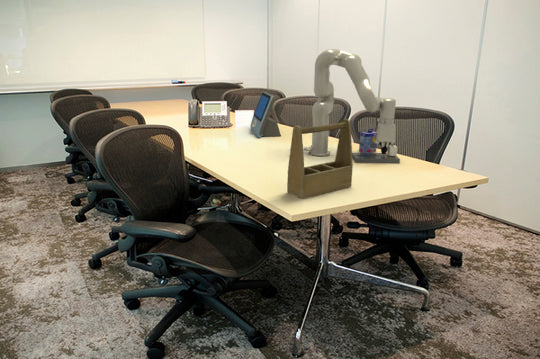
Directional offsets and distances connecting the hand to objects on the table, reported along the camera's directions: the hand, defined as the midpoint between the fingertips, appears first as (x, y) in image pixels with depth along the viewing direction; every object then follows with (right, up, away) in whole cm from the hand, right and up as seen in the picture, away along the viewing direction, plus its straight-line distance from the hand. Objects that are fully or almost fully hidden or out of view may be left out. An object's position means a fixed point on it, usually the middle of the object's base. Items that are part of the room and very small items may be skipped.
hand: (383, 153), depth 232 cm
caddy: (-42, -19, -50) cm, 68 cm away
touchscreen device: (-68, +19, +75) cm, 103 cm away
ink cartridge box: (-4, +2, +20) cm, 21 cm away
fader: (+5, -1, 0) cm, 5 cm away
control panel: (-5, -4, +1) cm, 6 cm away
